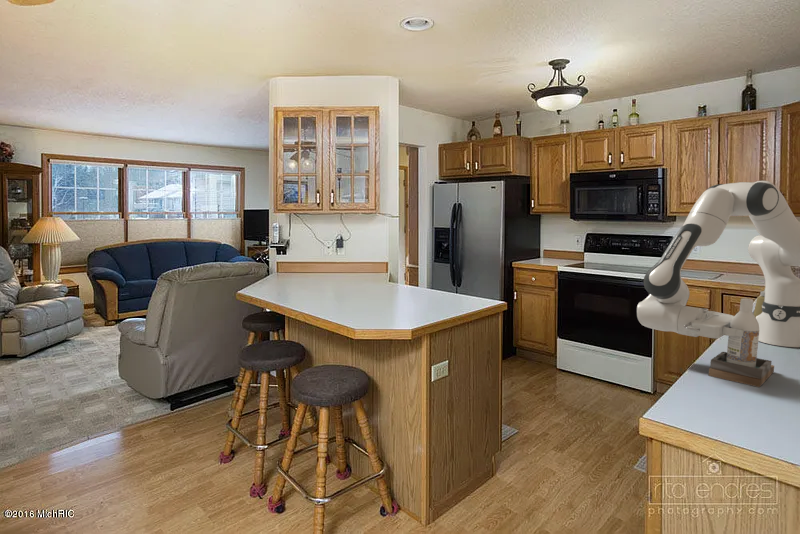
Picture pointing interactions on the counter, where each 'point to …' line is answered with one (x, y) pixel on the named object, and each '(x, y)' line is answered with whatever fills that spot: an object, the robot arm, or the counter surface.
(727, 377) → the tray
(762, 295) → the squeeze bottle
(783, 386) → the counter surface
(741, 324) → the bath foam
